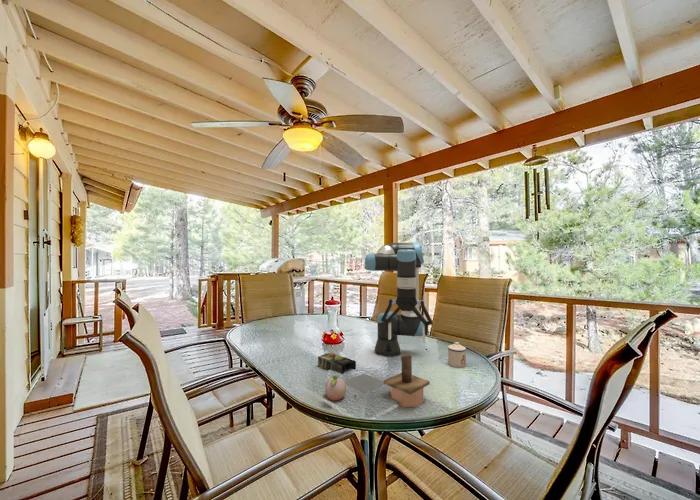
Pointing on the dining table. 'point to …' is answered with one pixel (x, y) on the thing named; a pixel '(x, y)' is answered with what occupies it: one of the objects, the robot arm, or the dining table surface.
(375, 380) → the mat
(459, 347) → the teacup with lid
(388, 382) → the lid
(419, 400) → the bowl
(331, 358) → the juice carton
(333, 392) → the decorative fruit
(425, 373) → the dining table surface
